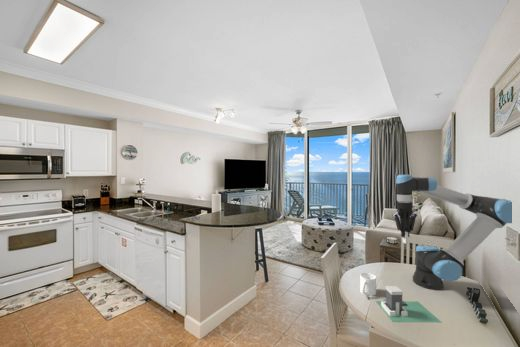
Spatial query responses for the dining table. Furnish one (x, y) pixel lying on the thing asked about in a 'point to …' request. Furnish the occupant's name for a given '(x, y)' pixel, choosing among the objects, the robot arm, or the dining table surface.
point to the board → (412, 313)
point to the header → (393, 313)
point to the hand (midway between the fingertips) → (405, 242)
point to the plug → (394, 299)
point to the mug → (367, 284)
